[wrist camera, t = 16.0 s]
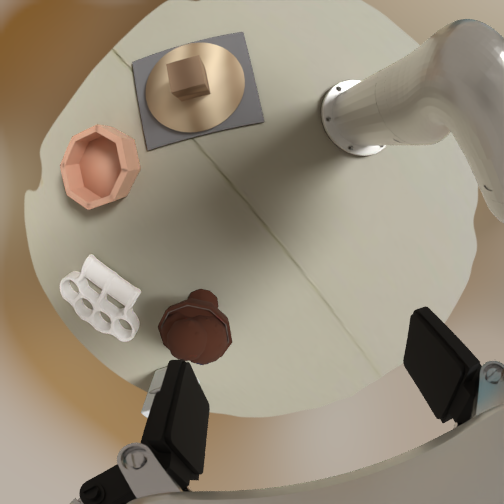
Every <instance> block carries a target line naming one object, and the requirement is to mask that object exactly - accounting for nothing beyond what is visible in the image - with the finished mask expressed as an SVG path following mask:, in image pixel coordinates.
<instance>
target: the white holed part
mask: <svg viewBox="0 0 504 504" xmlns="http://www.w3.org/2000/svg"><path fill="white" fill-rule="evenodd" d="M86 278H88V279H89V280H90V281H91V282H93V283H94V284H95V285H97V286H98V287H99V288H101V289H102V292H101V294H99V293H97V292H96V291H95V290H93V289H92V288H91V287H90V286H89V285H88V281H87V279H86ZM69 280H72V281H73V282H74V283H75V284H76V285H77V287H78V289H79V293H78V292H75V291H74V290H73V289H72V288H71V286H70V282H69ZM60 292H61V295H62V297H63V299H65V300H66V301H68V302H69V303H70V304H71V305H72V306H73V308H74V310H75V312H76V313H77V315H78V316H79V317H80V318H81V319H82V320H84V321H87V322H88V323H90V324H91V325H92V326H93V327H94V328H95V330H97V331H100V332H102V333H107V334H111V335H113V336H115V337H116V338H117V339H119V340H120V341H124V342H126V341H130V340H132V339H133V338H134V336H135V334H136V333H137V331H138V329H139V326H140V322H139V319H138V317H137V315H136V314H135V313H134V312H133V308H132V307H133V305H134V304H135V302H136V300H137V299H138V297H139V295H140V293H141V292H142V291H140V289H139V288H136V287H134V286H133V285H132V284H130V283H129V282H128V281H126V280H125V279H123V278H122V277H121V276H119V275H118V274H117V272H115V271H113V270H111V269H110V268H109V267H107V266H106V265H105V264H103V263H102V262H101V261H99V260H98V259H97V258H95V256H94V255H93V254H90V255H89V256H88V257H87V259H86V261H85V262H84V264H83V266H82V269H81V273H80V272H78V271H72V272H70V273H69V274H68V275H67V276H65V277H64V278H63V279H62V280H61V282H60ZM108 294H109V295H110V296H111V297H113V298H114V299H116V300H117V301H118V302H120V303H121V304H123V305H124V306H125V308H122V309H119V308H118V307H116V306H115V305H114V304H112V303H111V302H109V301H108V300H107V295H108ZM82 298H84V299H86V300H88V301H89V302H90V303H91V305H92V307H93V309H89V308H87V307H86V306H85V304H84V303H83V300H82ZM100 311H101V312H104V313H105V314H107V315H108V316H109V318H110V320H111V323H109V322H106V321H105V320H104V319H103V318H102V316H101V314H100ZM119 319H123V320H125V321H127V322H128V323H129V324H130V325H131V327H132V330H128V329H125V328H124V327H123V326H122V325H121V324H120V321H119Z"/></svg>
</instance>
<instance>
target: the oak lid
mask: <svg viewBox="0 0 504 504" xmlns="http://www.w3.org/2000/svg"><path fill="white" fill-rule="evenodd" d="M244 88H245V78H244V72H243V69H242V67H241V65H240V63H239V61H238V60H237V58H236V57H235V56H234V55H233V54H232V53H230V52H229V51H228V50H226V49H224V48H223V47H220V46H218V45H215V44H211V43H191V44H186V45H183V46H180V47H178V48H175V49H173V50H172V51H170V52H168V53H167V54H166V55H164V56H163V57H162V58H161V59H160V60H159V61H158V62H157V63H156V65H155V66H154V68H153V69H152V71H151V73H150V75H149V77H148V80H147V84H146V101H147V105H148V107H149V110H150V111H151V113H152V115H153V116H154V117H155V118H156V119H157V120H158V121H159V122H160V123H161V124H163V125H164V126H166V127H168V128H170V129H173V130H176V131H180V132H189V133H191V132H200V131H205V130H208V129H211V128H213V127H215V126H217V125H219V124H221V123H222V122H224V121H225V120H226V119H228V118H229V117H230V116H231V115H232V114H233V112H234V111H235V110H236V109H237V107H238V105H239V104H240V102H241V99H242V97H243V93H244Z"/></svg>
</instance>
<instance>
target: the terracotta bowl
mask: <svg viewBox="0 0 504 504" xmlns="http://www.w3.org/2000/svg"><path fill="white" fill-rule="evenodd" d="M60 168H61V173H62V177H63V182H64V186H65V190H66V195H68V196H69V197H70V198H72V199H73V200H75V201H76V202H77V203H79V204H80V205H82V206H83V207H85V208H86V209H88V210H89V209H92V208H95V207H98V206H101V205H104V204H107V203H110V202H113V201H116V200H118V199H121V198H123V197H126V196H127V195H128V193H129V191H130V189H131V187H132V185H133V183H134V181H135V179H136V177H137V175H138V173H139V172H140V170H141V167H140V163H139V159H138V154H137V149H136V144H135V140H134V139H133V138H131V137H129V136H127V135H126V134H124V133H122V132H120V131H119V130H117V129H115V128H113V127H110V126H104V125H98V124H97V125H95V126H93V127H91V128H89V129H86V130H84V131H82V132H80V133H78V134H76V135H74V136H72V138H71V140H70V143H69V145H68V147H67V149H66V152H65V154H64V157H63V159H62V162H61V164H60Z"/></svg>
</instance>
